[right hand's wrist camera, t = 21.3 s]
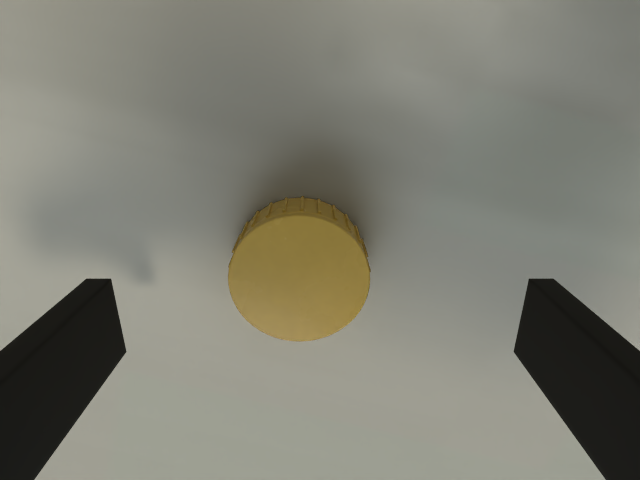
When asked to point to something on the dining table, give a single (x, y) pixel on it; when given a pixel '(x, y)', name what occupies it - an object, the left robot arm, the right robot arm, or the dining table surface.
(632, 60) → the dining table surface
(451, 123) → the dining table surface
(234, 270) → the lid
